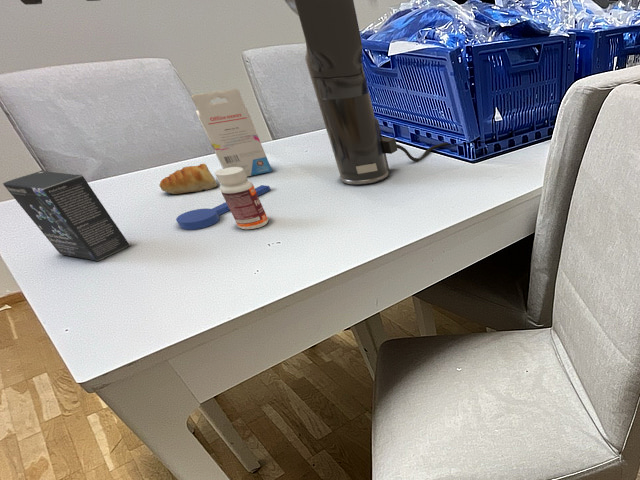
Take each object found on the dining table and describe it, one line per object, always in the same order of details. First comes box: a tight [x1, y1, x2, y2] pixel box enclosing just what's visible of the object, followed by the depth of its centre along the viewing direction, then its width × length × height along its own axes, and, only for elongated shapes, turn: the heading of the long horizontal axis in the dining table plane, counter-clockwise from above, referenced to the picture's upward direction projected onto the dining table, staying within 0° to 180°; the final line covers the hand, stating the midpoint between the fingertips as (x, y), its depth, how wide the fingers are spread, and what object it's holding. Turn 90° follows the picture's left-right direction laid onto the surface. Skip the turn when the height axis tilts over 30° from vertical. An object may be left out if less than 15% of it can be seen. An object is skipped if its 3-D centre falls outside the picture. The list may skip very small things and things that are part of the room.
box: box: [2, 169, 130, 262], centre depth 65 cm, size 8×6×11 cm
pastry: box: [158, 163, 218, 195], centre depth 87 cm, size 9×7×4 cm
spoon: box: [175, 184, 271, 231], centre depth 80 cm, size 19×6×1 cm, turn 162°
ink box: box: [191, 88, 273, 178], centre depth 89 cm, size 8×5×15 cm, turn 127°
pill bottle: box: [214, 167, 269, 230], centre depth 72 cm, size 5×5×8 cm
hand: (65, 2), depth 56 cm, fingers open, 8 cm apart
